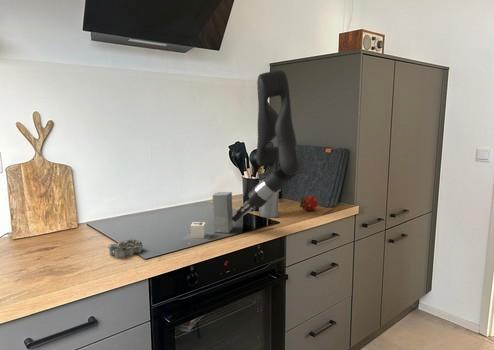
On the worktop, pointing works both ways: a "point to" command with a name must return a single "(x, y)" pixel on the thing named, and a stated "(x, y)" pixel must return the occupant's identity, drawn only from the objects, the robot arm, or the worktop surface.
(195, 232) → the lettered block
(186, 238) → the reading mat
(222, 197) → the skincare box
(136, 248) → the grey lumpy piece
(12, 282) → the worktop surface
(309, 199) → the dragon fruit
